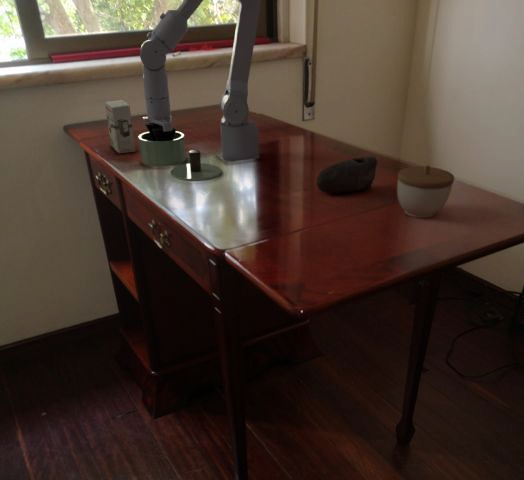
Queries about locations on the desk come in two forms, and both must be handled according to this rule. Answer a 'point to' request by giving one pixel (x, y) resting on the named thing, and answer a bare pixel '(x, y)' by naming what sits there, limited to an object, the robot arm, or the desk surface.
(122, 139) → the ink box
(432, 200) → the trinket box
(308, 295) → the desk surface
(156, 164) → the bowl
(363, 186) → the perforated stone tool
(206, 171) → the lid
